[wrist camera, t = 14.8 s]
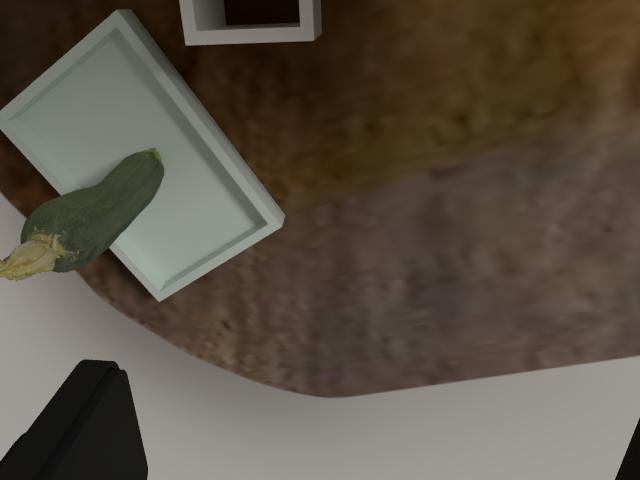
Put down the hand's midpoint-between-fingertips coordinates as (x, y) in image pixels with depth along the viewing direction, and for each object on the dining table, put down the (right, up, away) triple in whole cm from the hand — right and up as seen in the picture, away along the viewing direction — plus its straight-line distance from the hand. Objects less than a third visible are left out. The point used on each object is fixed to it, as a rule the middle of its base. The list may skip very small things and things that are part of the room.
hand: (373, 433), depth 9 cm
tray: (-15, +10, +34) cm, 39 cm away
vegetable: (-15, +10, +33) cm, 38 cm away
